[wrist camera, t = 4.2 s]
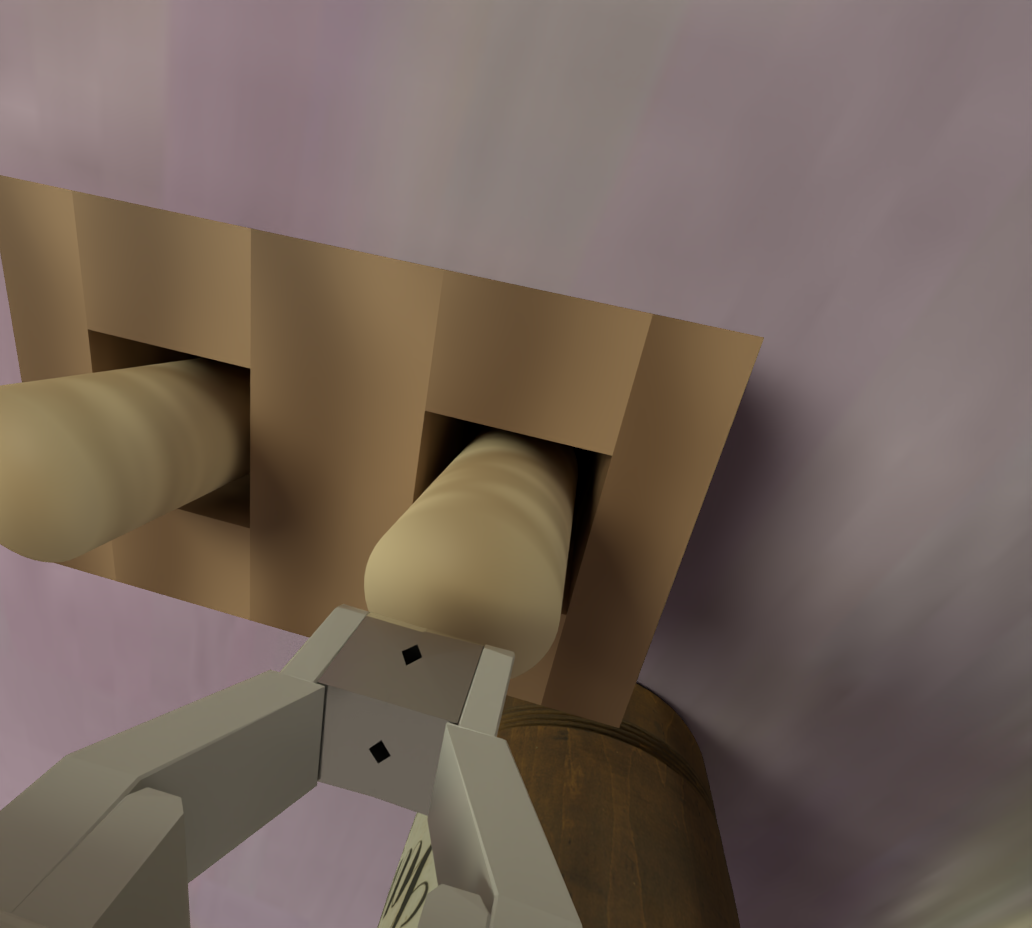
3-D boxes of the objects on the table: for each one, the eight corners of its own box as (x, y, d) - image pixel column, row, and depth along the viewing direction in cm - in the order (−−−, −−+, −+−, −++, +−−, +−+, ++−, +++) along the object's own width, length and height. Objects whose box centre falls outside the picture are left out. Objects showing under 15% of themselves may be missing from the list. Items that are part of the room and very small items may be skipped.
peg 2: (590, 430, 16) (582, 541, 9) (563, 533, 17) (536, 707, 10) (476, 403, 16) (373, 487, 9) (458, 506, 18) (356, 654, 10)
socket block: (691, 322, 19) (764, 337, 11) (612, 573, 23) (619, 728, 15) (234, 225, 21) (-13, 172, 12) (236, 474, 25) (51, 562, 17)
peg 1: (314, 364, 17) (89, 413, 9) (309, 467, 18) (109, 581, 11) (212, 340, 17) (-84, 369, 10) (214, 443, 19) (-43, 537, 11)
